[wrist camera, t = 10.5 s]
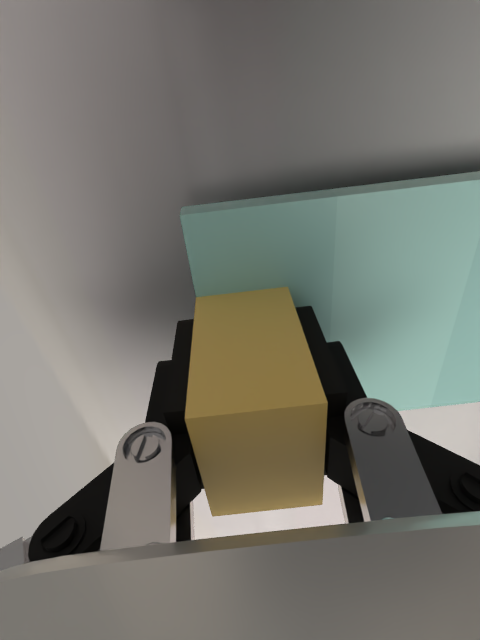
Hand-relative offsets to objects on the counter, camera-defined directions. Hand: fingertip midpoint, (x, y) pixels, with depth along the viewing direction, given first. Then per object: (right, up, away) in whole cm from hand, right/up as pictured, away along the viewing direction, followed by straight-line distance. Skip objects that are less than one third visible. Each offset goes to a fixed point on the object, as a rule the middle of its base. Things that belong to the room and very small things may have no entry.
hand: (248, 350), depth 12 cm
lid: (+5, +1, +1) cm, 5 cm away
